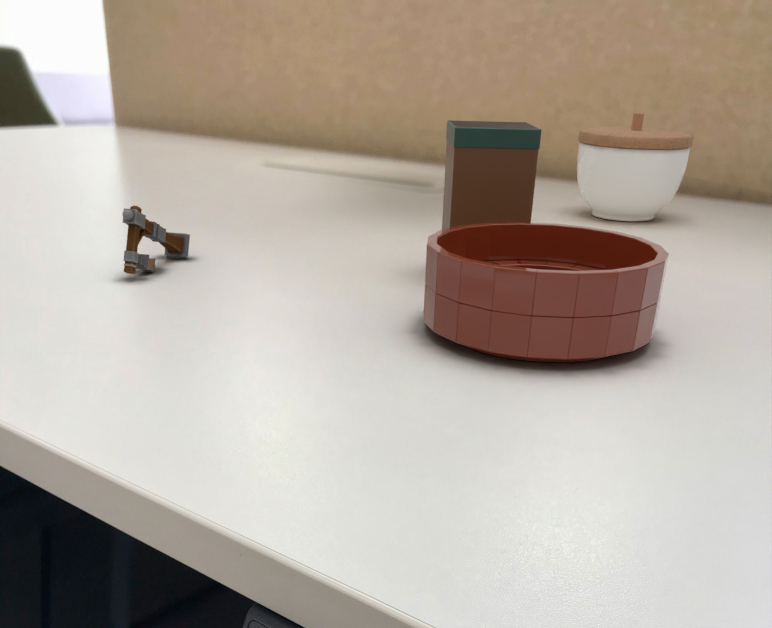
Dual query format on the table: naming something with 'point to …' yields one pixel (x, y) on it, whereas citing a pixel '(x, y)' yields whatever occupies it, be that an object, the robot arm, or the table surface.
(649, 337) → the bowl
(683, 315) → the table surface
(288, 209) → the table surface
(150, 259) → the wooden post with brackets
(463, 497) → the table surface
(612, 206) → the trinket box
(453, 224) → the tea box
